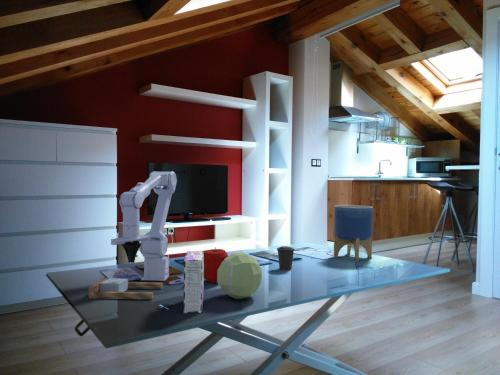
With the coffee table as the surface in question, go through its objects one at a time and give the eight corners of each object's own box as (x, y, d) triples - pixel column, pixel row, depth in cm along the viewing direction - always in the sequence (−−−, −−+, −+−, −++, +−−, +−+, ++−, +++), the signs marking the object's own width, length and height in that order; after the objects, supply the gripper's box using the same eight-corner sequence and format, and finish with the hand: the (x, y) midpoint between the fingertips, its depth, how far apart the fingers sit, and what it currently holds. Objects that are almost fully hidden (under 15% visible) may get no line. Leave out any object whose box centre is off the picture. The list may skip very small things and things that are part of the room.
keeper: (127, 289, 145) (127, 278, 145) (118, 295, 138) (118, 284, 138) (109, 288, 146) (109, 278, 146) (99, 294, 139) (99, 283, 139)
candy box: (186, 299, 134) (186, 250, 134) (203, 299, 135) (204, 250, 134) (182, 313, 121) (183, 259, 120) (202, 313, 121) (202, 259, 120)
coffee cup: (273, 270, 176) (274, 247, 176) (279, 266, 184) (279, 244, 183) (291, 272, 173) (292, 249, 173) (296, 268, 181) (296, 246, 180)
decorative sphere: (226, 306, 127) (227, 259, 127) (211, 293, 141) (212, 251, 141) (268, 301, 133) (269, 256, 133) (250, 288, 147) (251, 248, 147)
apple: (216, 276, 164) (216, 243, 163) (233, 281, 157) (233, 247, 156) (195, 281, 156) (195, 247, 156) (212, 286, 149) (212, 250, 149)
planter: (377, 261, 195) (378, 208, 195) (337, 261, 196) (338, 207, 195) (366, 253, 215) (367, 205, 214) (330, 253, 215) (331, 204, 214)
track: (162, 288, 147) (162, 278, 147) (152, 299, 133) (152, 289, 133) (104, 286, 148) (104, 277, 147) (88, 298, 134) (88, 287, 134)
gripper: (143, 222, 152) (143, 257, 153) (106, 225, 142) (107, 263, 142) (153, 224, 147) (153, 260, 147) (116, 227, 137) (116, 267, 137)
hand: (131, 262), depth 145 cm, fingers closed
